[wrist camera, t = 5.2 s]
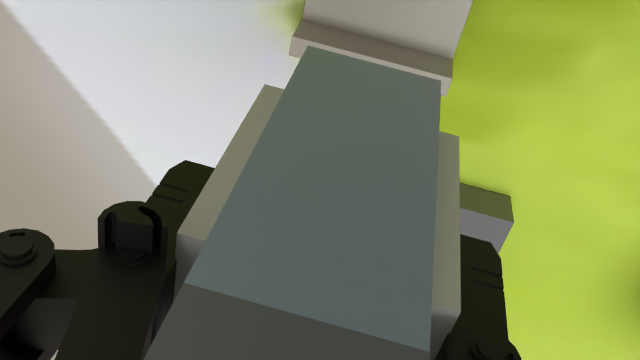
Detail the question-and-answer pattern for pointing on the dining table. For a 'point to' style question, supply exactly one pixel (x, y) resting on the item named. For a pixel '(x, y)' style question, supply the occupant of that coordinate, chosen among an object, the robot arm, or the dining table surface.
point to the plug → (322, 227)
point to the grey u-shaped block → (387, 33)
